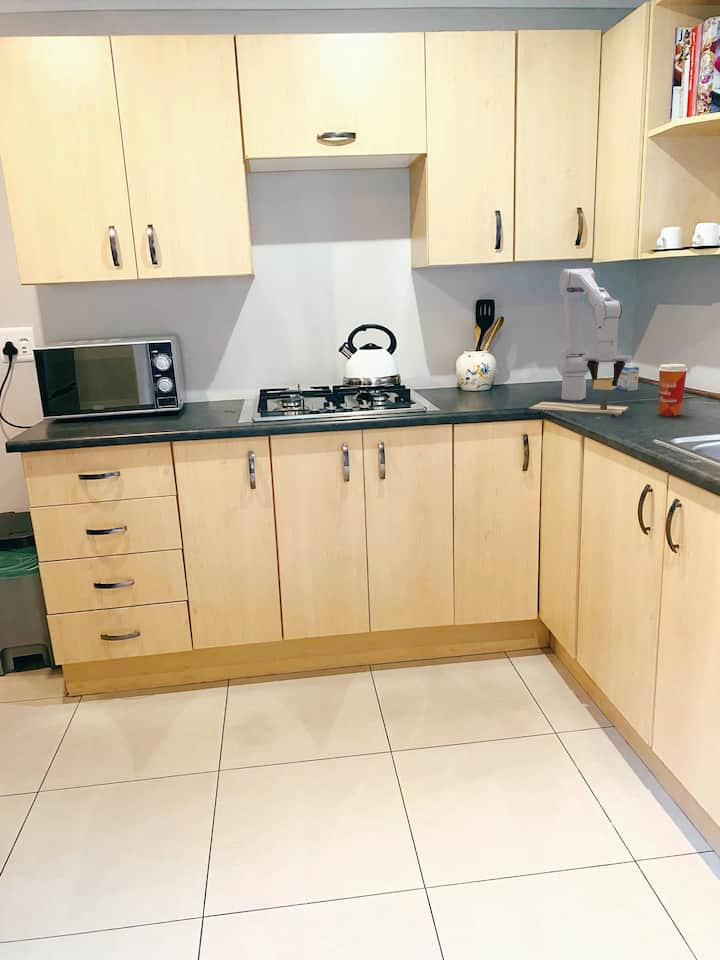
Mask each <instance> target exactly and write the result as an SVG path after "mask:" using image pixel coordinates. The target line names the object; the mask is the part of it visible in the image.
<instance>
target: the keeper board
mask: <svg viewBox="0 0 720 960" xmlns="http://www.w3.org/2000/svg"><path fill="white" fill-rule="evenodd" d="M529 409H533V410H534V409H535V410H546V411H547V410H550V411H565V412H578V413H579V412H580V413H595V414H597V413H598V414H611V415H617V416H618V415H619V414H621V413H622V412H624V411H626V410H627V409H628V410H629V406H623V405H621V406H620V405H608V399H607V398H606V397H602V398H601V399H600V403H599V404H589V403H588V404H587V403H574V402H573V403H571V402H570V403H569V402H556V401H552V402H551V401H541V402H539V403H537V404H534V405H532V406H529ZM628 410H627V411H628ZM627 411H626V412H627ZM624 413H625V412H624ZM621 415H622V414H621ZM618 417H619V416H618Z"/></svg>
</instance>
